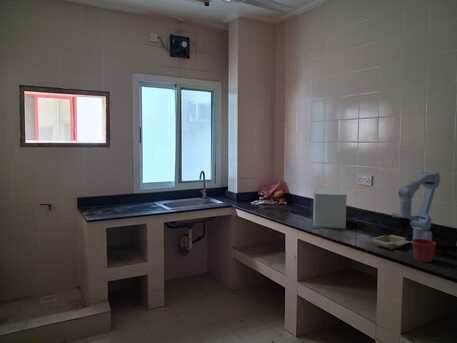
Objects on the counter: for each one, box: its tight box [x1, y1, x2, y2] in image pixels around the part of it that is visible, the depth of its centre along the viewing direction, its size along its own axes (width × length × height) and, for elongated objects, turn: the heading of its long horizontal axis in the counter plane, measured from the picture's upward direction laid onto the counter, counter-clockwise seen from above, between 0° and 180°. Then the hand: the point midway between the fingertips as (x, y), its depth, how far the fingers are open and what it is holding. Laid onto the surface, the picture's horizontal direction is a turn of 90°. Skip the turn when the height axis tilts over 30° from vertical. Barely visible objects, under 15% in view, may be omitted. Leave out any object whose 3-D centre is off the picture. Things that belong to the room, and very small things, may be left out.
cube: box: [312, 188, 348, 229], centre depth 254 cm, size 25×21×24 cm
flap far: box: [369, 235, 386, 241], centre depth 208 cm, size 4×12×1 cm, turn 125°
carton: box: [370, 234, 407, 250], centre depth 202 cm, size 11×22×3 cm, turn 125°
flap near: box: [392, 239, 411, 247], centre depth 196 cm, size 4×12×1 cm, turn 125°
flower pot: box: [411, 238, 437, 263], centre depth 177 cm, size 11×11×10 cm
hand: (404, 231), depth 196 cm, fingers closed
